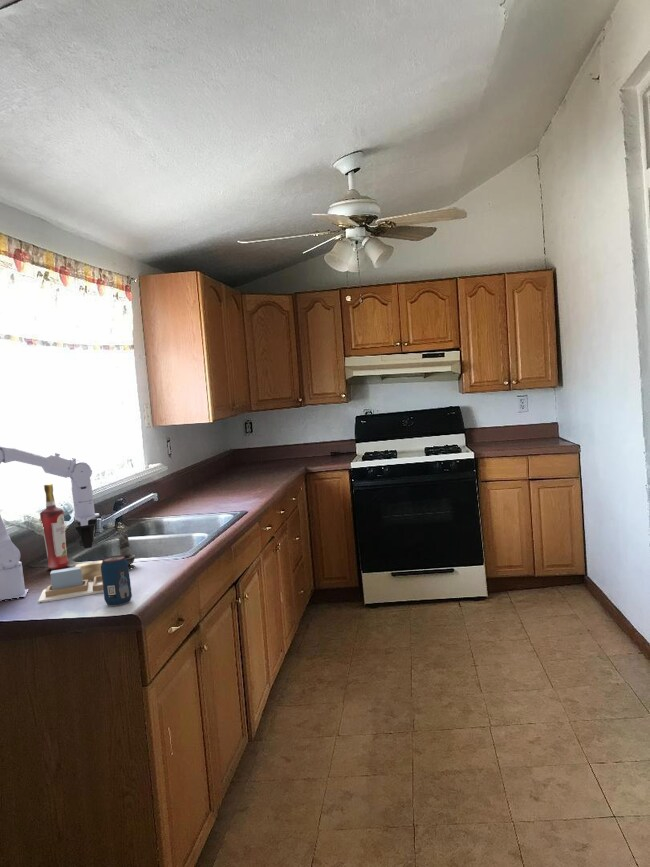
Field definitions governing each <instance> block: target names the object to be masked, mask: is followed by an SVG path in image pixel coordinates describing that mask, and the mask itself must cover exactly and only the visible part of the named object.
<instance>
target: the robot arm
mask: <svg viewBox="0 0 650 867" xmlns="http://www.w3.org/2000/svg"><path fill="white" fill-rule="evenodd" d="M10 462H19V463H23V464H28V465H31V466H37V467H40V468H42V470H43V471H44V473H46V474H50V475H54V476H58V477H62V478H66V479H67V478H70V481H71V495H72V501H73V502H72V503H73V510H74V520H75V521H77V525H74V528H75V531H76V532H77V533H78V535H79V537H80V539H81V543H82V545H83V548H84V549H90V548H93V543H94V539H95V538H94V536H95V526H96V522H97V518H96V517H100V512H99V513H96V512H95V511H96V510H95V504H94V497H93V496H94V495H93V487H92V481H91V476H92V474H93V470H92V469H91V466H90V465H89V464H88V463H86V462H85V461H80V460H77V458H74V457H71V458H68V457H65V456H61V454H60V453H57V452H55V453H54V454H53V453H49V454H48V455H45V456H42V455H39V454H35V453H32V452H28V451H25V450H22V449H18V448H16V447H15V448H14V447H9V446H8V447H7V446H0V465H1V464H2V463H4V464H8V463H10ZM11 539H12V538H11V537H10V535H9V533H8V531H7V528H6V525H5V524H4V520H3V519H2V516H1V514H0V599H2V600H3V599H11V598H17V599H20V598H19V597H24V598H26V596H27V594H28V593H27V592H29V591H28V590H29V588H27V589H26V586H25V579H24V577H25V576H24V573H23V572H24V571H23V564H22V561H20V559H21V551H20V550H19V548H18V547H17V546H16V545H15V543H13V542H12V540H11ZM11 600H12V599H11Z"/></svg>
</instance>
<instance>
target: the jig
mask: <svg viewBox="0 0 650 867" xmlns="http://www.w3.org/2000/svg"><path fill="white" fill-rule="evenodd" d="M100 593H101V594H102V593H103V594H104V591H103V583H102V575H100V576H95V577H94V581H88V579H87V580H83V585H80V586H74V587H68V588H61V589H55V590H52V584H51V585H48V586H47V587H46V588H45V589H43V590H42V592H41V594H40V596H39V598H38V600H37V603H38V604H41V603H40V602H42V603H47V602H54V601H58V600H59V601H60V600H66V599H71V598H78V597H83V596H88V595H89V596H90V595H95V594H96V595H97V594H100Z"/></svg>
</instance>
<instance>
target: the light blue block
mask: <svg viewBox="0 0 650 867" xmlns="http://www.w3.org/2000/svg"><path fill="white" fill-rule="evenodd" d="M49 574H50V575H49V576H50V582H51V585H52V590H55V589H61V588H68V587H74V586H80V585H83V579H82V571H81V566H80V567H75V566H74V567H68V568H63V569H59V570H51V571H50V573H49Z"/></svg>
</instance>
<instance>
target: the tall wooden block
mask: <svg viewBox="0 0 650 867" xmlns="http://www.w3.org/2000/svg"><path fill="white" fill-rule="evenodd" d="M102 562H103V561H102V560H98V561H92V562H85V563H79V564H78V563H77V564H75V566H74V567H80V566H81V571H82V579H83V580H87V579H88V582H93V581H94V577H95V576H100V575H102V574H101V564H102Z"/></svg>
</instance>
